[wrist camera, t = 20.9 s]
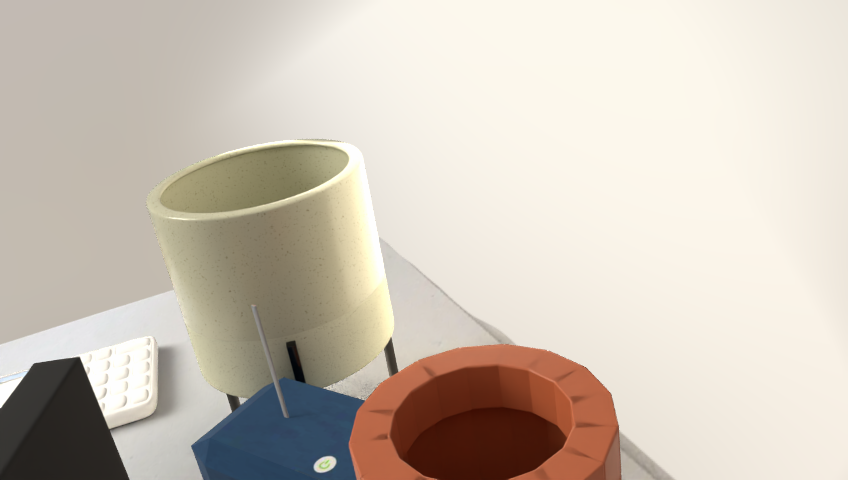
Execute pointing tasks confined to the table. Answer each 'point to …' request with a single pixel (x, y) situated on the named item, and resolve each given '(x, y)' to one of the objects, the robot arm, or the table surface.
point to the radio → (282, 433)
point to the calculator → (114, 380)
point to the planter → (276, 264)
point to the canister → (488, 420)
